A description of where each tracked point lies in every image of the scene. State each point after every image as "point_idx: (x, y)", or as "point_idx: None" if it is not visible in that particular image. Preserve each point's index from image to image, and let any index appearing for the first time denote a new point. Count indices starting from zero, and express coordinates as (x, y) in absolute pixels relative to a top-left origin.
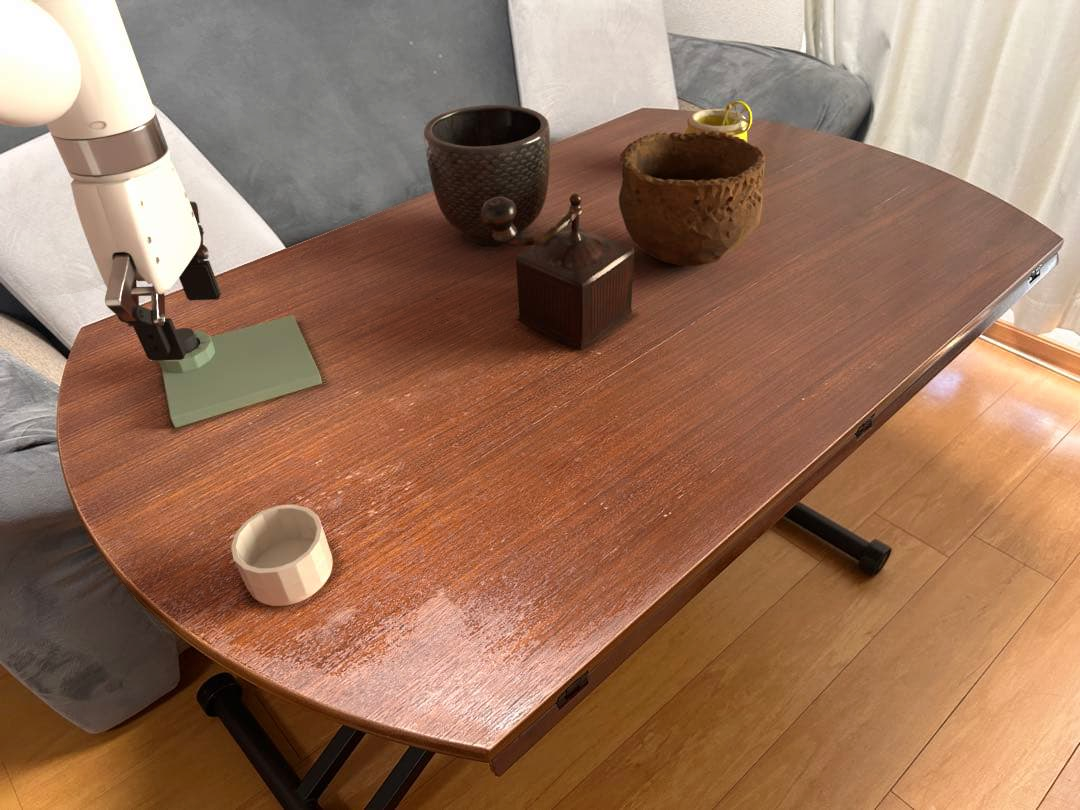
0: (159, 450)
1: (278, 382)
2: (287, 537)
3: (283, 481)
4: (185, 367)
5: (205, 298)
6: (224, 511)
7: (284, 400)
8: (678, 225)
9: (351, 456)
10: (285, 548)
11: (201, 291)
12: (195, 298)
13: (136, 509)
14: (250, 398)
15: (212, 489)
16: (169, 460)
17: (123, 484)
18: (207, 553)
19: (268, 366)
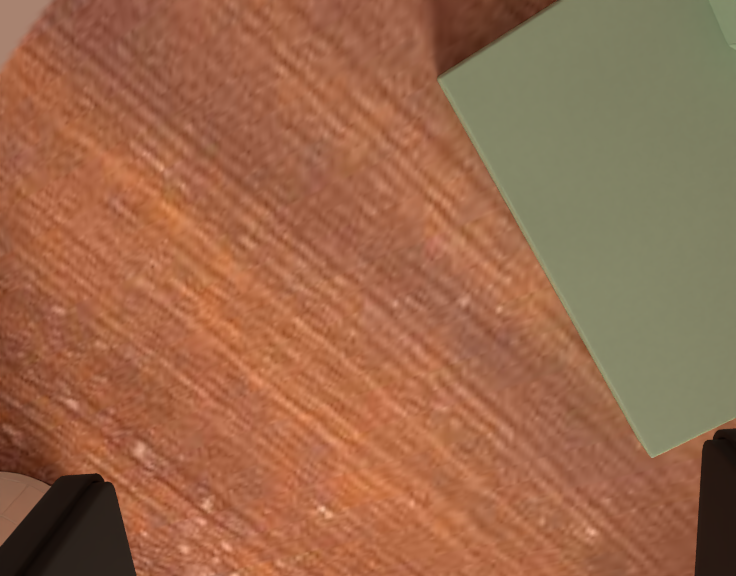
0: (334, 75)
1: (616, 356)
2: None
3: (252, 455)
4: (720, 5)
5: (703, 537)
6: (138, 358)
7: (566, 359)
8: None
9: (348, 573)
10: None
11: (727, 573)
12: (704, 489)
13: (103, 128)
14: (553, 285)
15: (203, 300)
16: (295, 129)
17: (184, 35)
18: (13, 369)
19: (708, 297)
